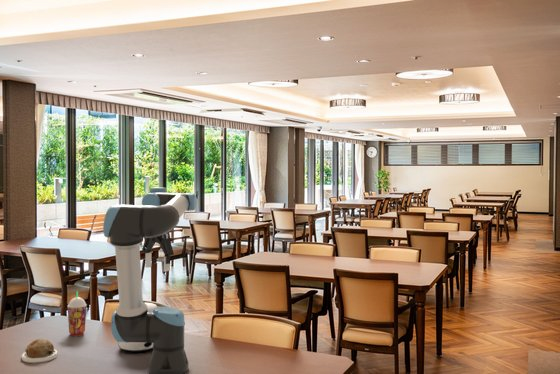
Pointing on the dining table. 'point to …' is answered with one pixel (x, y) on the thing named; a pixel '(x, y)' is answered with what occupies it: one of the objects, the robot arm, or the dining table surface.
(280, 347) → the dining table surface
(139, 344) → the milk container
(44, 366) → the dining table surface
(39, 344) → the bread roll
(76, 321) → the smoothie
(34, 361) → the plate
